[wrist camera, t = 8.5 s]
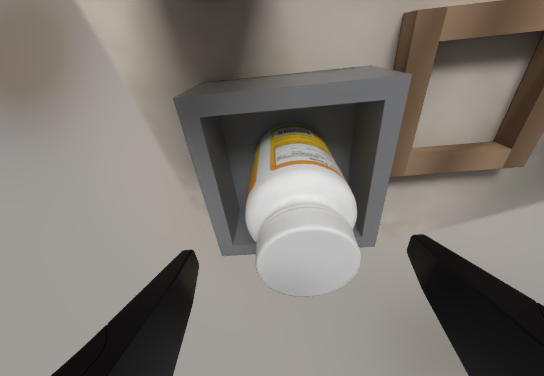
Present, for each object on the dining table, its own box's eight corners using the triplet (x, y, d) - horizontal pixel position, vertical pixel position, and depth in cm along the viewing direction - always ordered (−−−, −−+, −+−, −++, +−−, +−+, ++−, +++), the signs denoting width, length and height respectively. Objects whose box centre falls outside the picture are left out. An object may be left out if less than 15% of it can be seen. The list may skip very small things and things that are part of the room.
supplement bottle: (285, 200, 19) (296, 321, 10) (238, 155, 17) (205, 264, 8) (341, 160, 17) (407, 271, 9) (296, 104, 15) (327, 180, 6)
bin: (370, 65, 14) (411, 74, 10) (353, 204, 20) (374, 246, 16) (201, 82, 15) (173, 98, 11) (232, 213, 21) (222, 256, 16)
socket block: (589, -8, 12) (625, -14, 11) (505, 157, 18) (523, 166, 16) (403, 13, 13) (417, 10, 12) (376, 168, 18) (384, 177, 17)
